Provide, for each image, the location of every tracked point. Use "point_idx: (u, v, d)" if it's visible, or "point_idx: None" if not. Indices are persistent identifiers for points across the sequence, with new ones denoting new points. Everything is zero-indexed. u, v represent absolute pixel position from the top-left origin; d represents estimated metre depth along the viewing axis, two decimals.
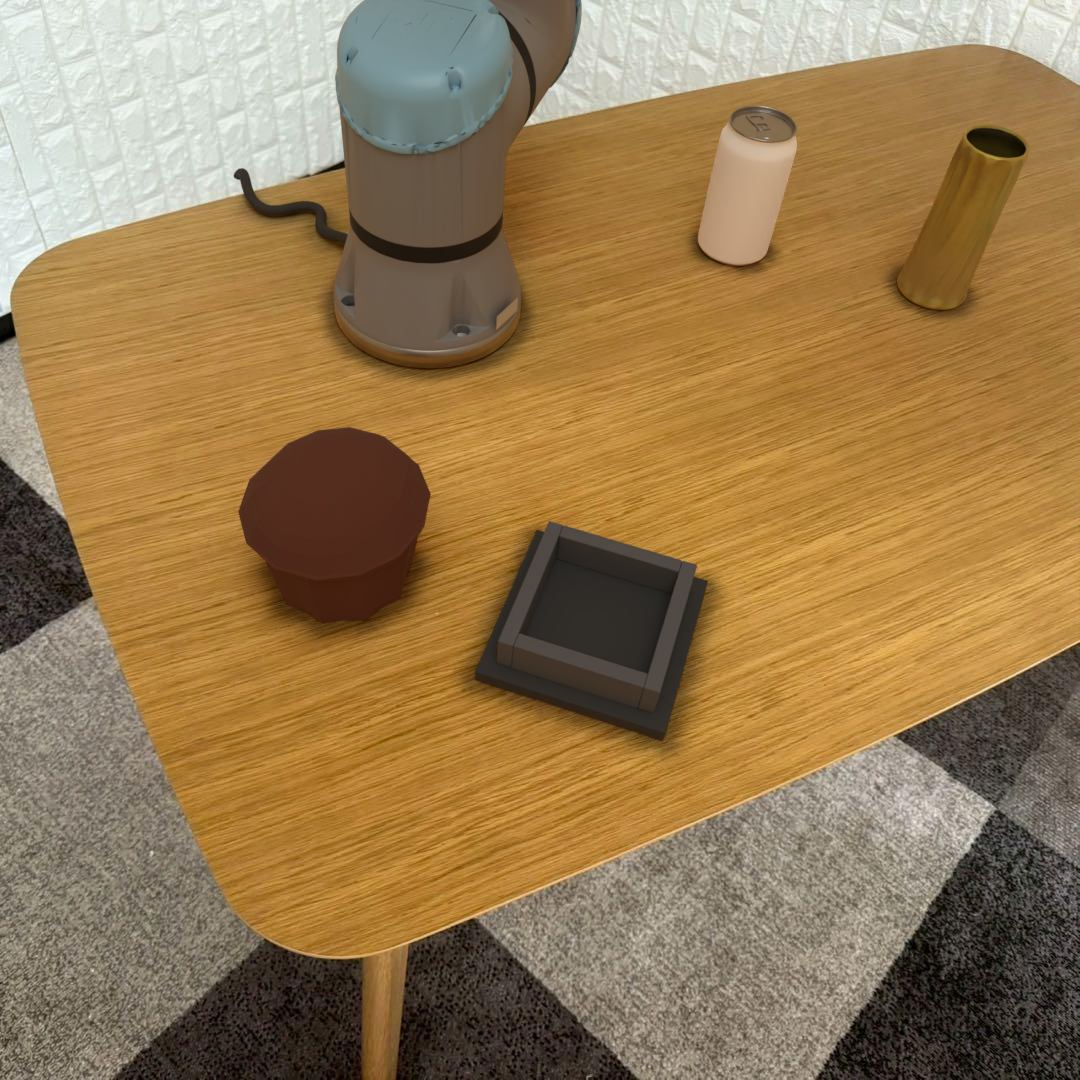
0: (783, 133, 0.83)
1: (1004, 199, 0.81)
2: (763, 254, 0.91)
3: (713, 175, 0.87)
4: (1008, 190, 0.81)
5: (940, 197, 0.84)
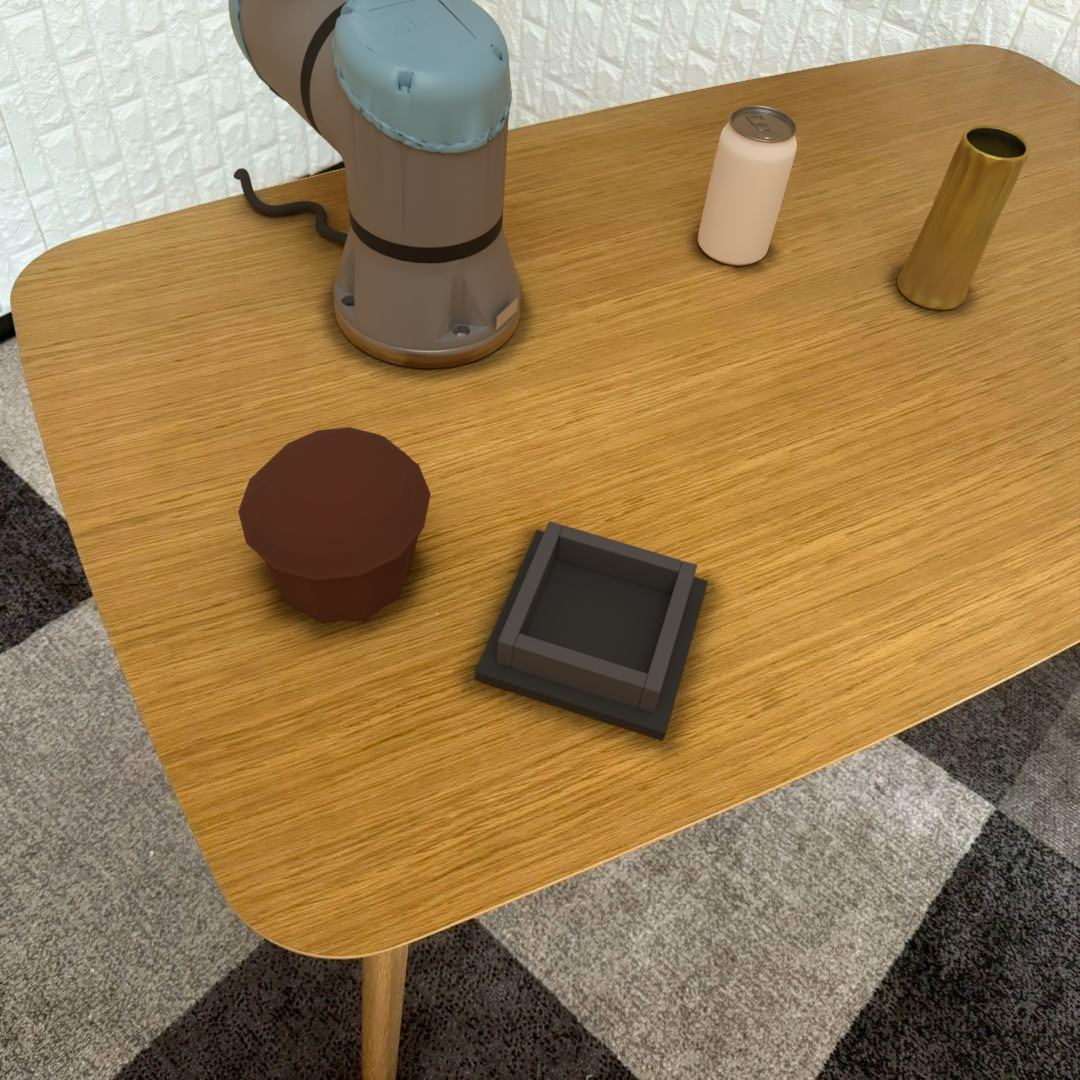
0: (783, 133, 0.83)
1: (1004, 199, 0.81)
2: (763, 254, 0.91)
3: (713, 175, 0.87)
4: (1008, 190, 0.81)
5: (940, 197, 0.84)
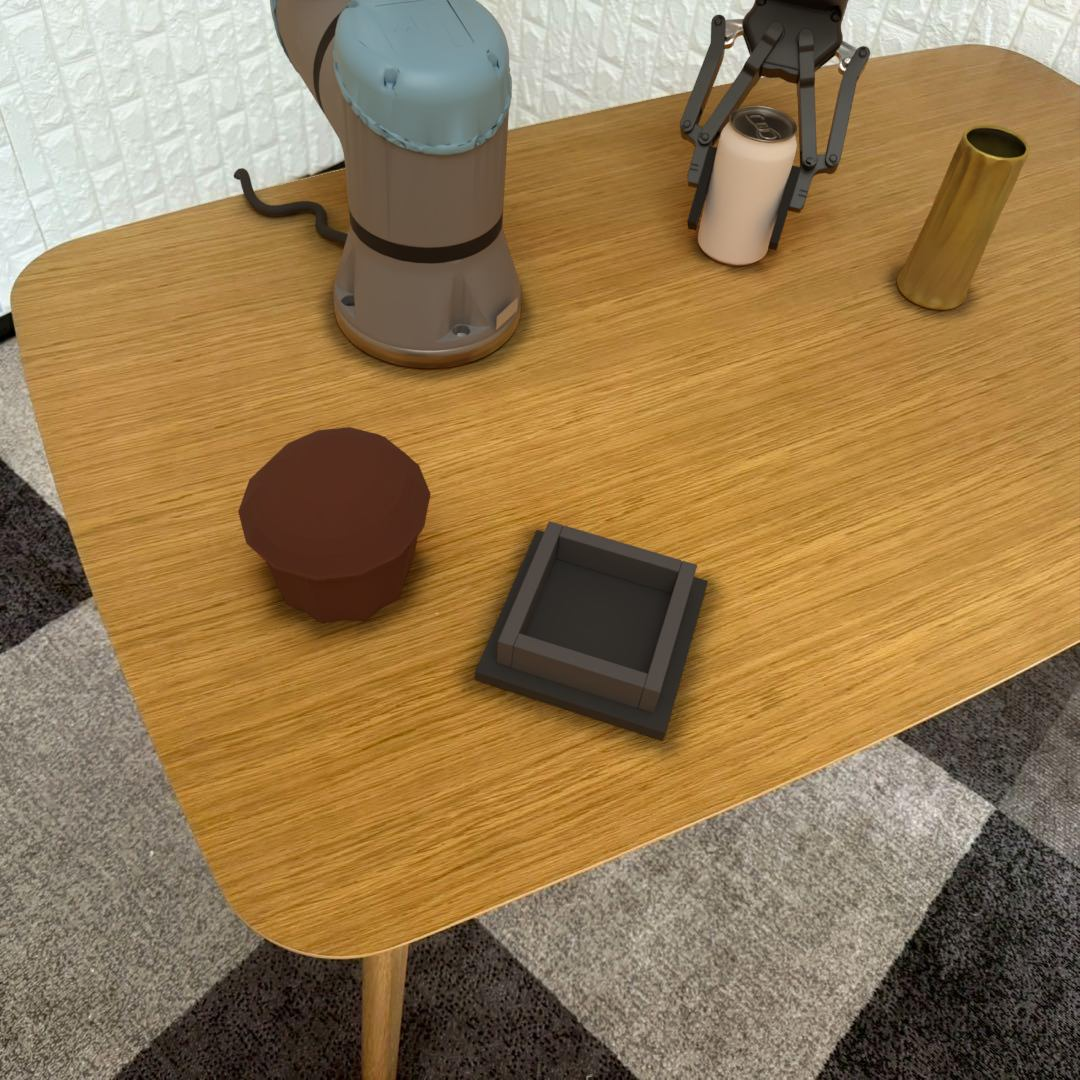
0: (783, 133, 0.83)
1: (1004, 199, 0.81)
2: (763, 254, 0.91)
3: (713, 175, 0.87)
4: (1008, 190, 0.81)
5: (940, 197, 0.84)
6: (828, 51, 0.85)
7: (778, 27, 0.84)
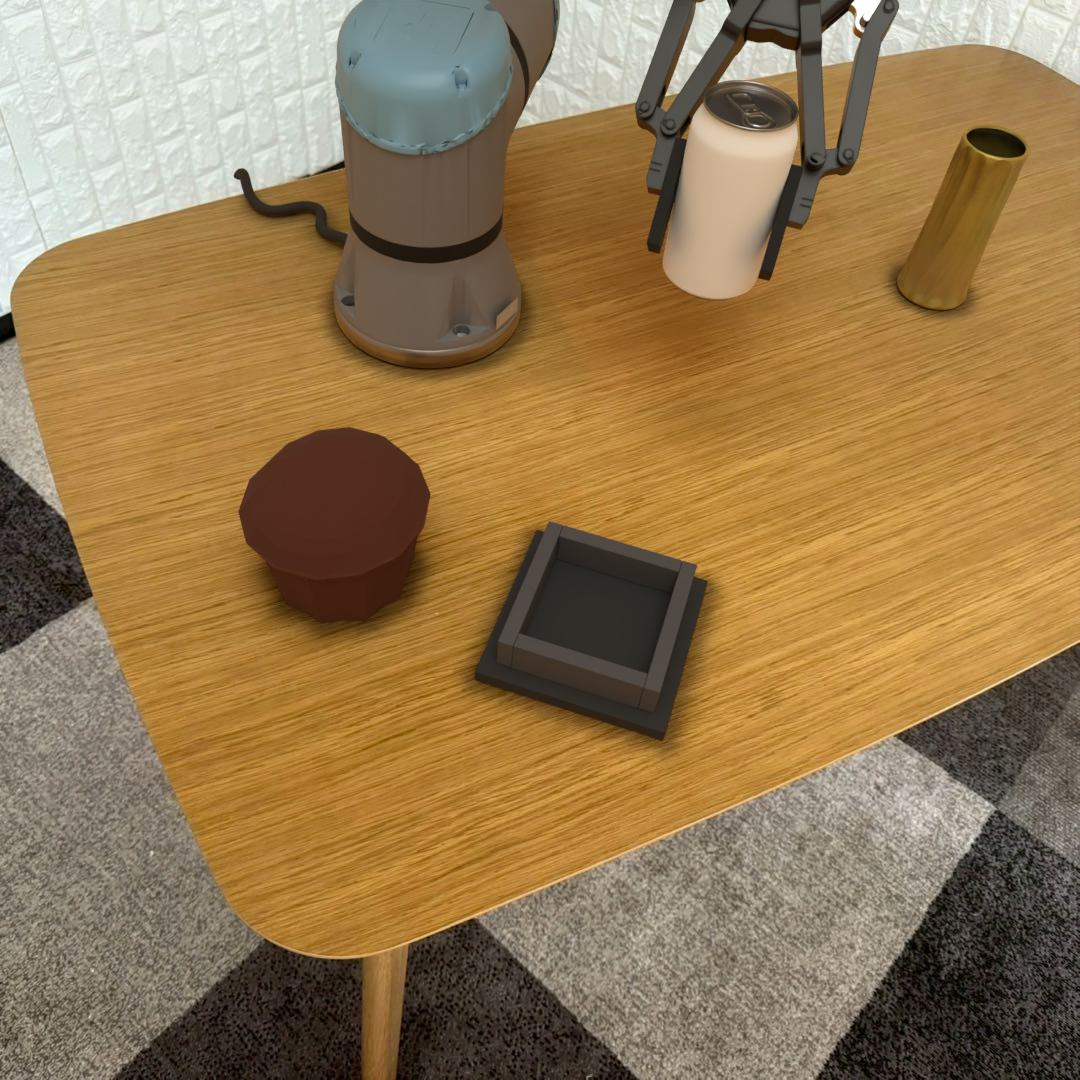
0: (779, 119, 0.59)
1: (1004, 199, 0.81)
2: (751, 284, 0.67)
3: (682, 178, 0.63)
4: (1008, 190, 0.81)
5: (940, 197, 0.84)
6: (840, 4, 0.61)
7: None
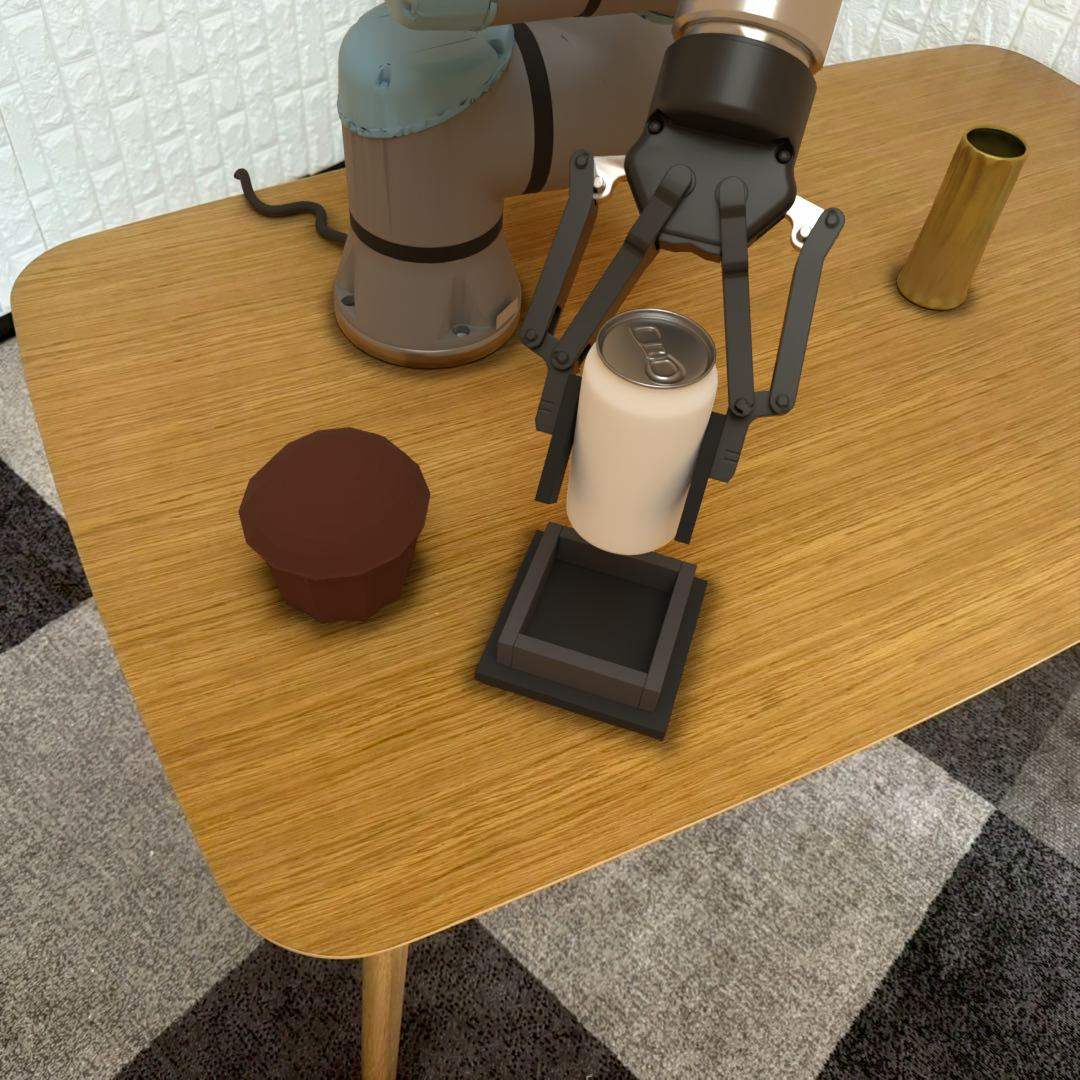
0: (692, 365, 0.47)
1: (1004, 199, 0.81)
2: (672, 535, 0.55)
3: (577, 422, 0.50)
4: (1008, 190, 0.81)
5: (940, 197, 0.84)
6: (772, 215, 0.48)
7: (683, 174, 0.48)
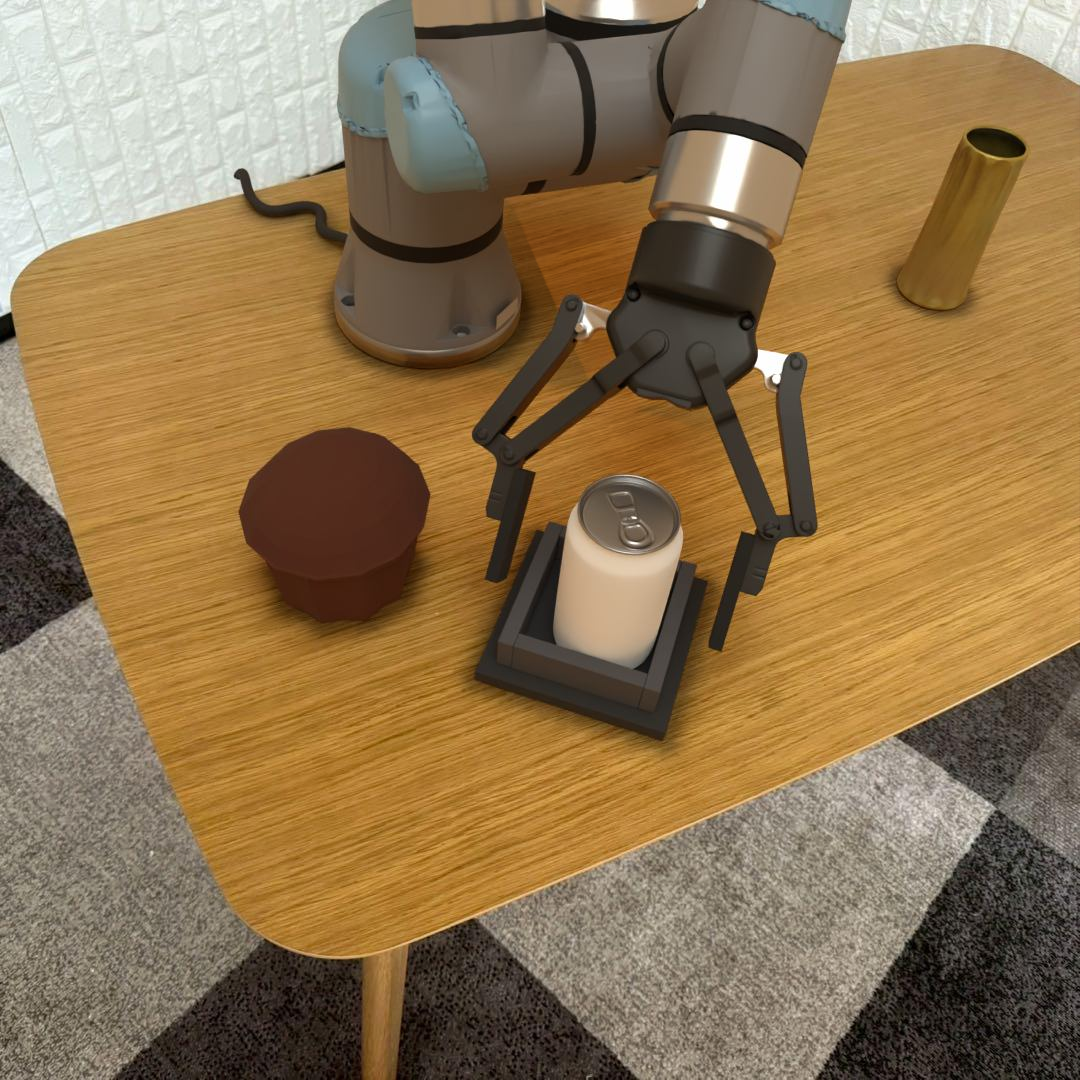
0: (660, 530, 0.54)
1: (1004, 199, 0.81)
2: (646, 657, 0.62)
3: (562, 568, 0.58)
4: (1008, 190, 0.81)
5: (940, 197, 0.84)
6: (743, 373, 0.55)
7: (657, 341, 0.54)
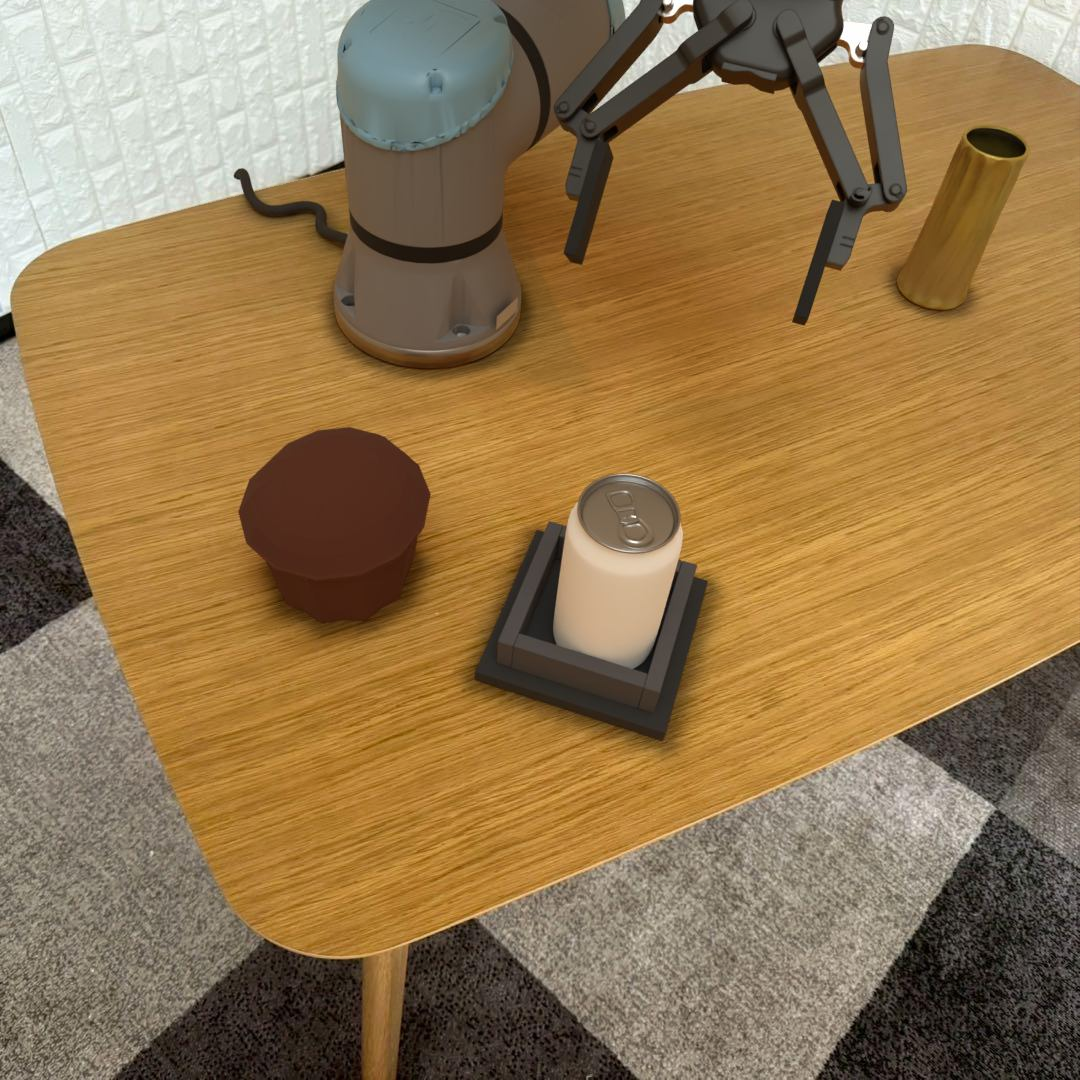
0: (659, 529, 0.54)
1: (1004, 199, 0.81)
2: (645, 657, 0.62)
3: (562, 568, 0.58)
4: (1008, 190, 0.81)
5: (940, 197, 0.84)
6: (830, 43, 0.56)
7: (745, 9, 0.55)
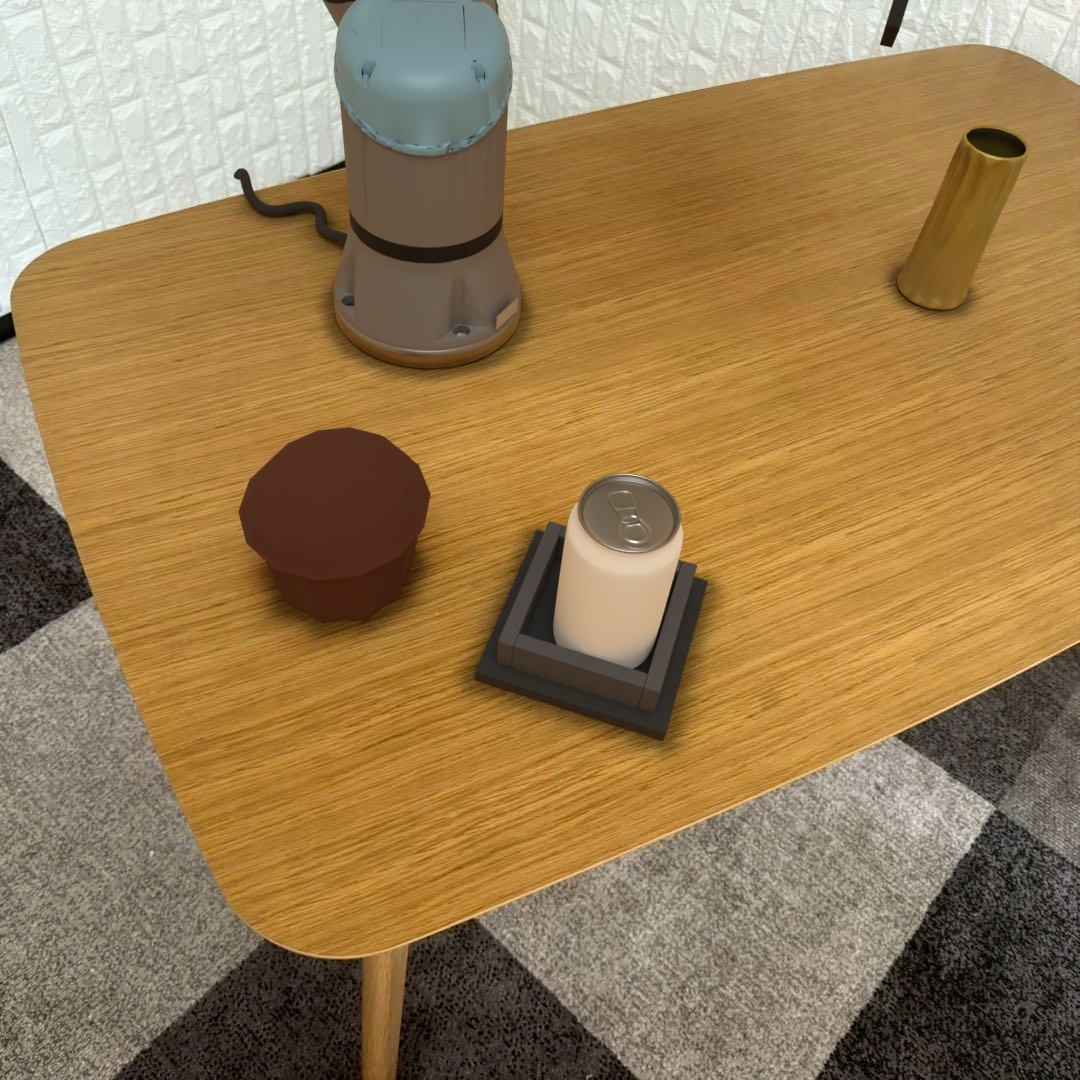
0: (660, 528, 0.55)
1: (1004, 199, 0.81)
2: (645, 657, 0.62)
3: (562, 567, 0.58)
4: (1008, 190, 0.81)
5: (940, 197, 0.84)
6: None
7: None
